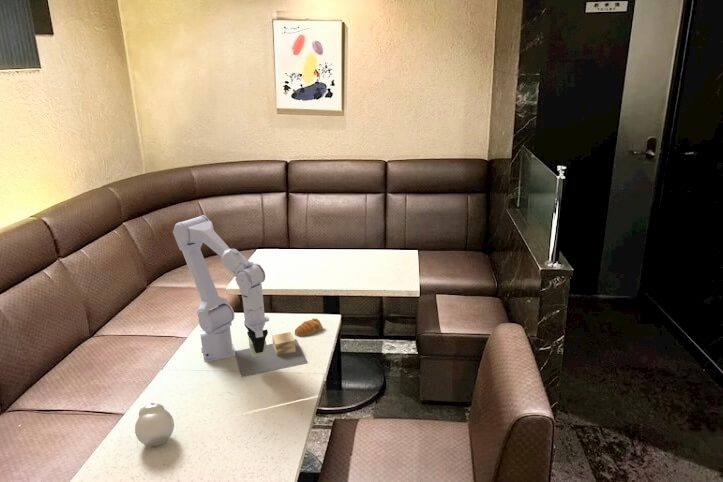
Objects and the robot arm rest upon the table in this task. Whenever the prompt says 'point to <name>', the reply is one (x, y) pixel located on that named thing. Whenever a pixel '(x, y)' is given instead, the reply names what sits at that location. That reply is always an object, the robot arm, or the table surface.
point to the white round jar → (154, 425)
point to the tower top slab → (283, 340)
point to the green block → (254, 350)
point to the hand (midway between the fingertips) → (257, 348)
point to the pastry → (308, 327)
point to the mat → (268, 360)
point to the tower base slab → (284, 350)
